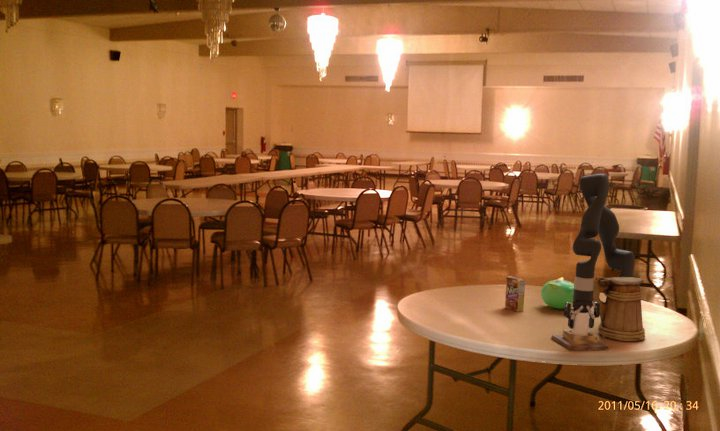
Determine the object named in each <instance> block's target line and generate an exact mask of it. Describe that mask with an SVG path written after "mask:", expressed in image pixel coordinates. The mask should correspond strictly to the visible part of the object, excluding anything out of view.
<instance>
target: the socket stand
mask: <svg viewBox="0 0 720 431" xmlns="http://www.w3.org/2000/svg"><path fill="white" fill-rule="evenodd" d="M551 339H552V340H553V341H555V342H557V343H558V344H559V345H560V346H562V347H565V348H566V349H567V350H568V351H572V350H575V351H596V350H595V349H608V350H609V345H607V344H606V343H604V342H603V341H600V340H599V336H598V335H596V334H594V333H592V332H591V331H589V330H588V336H575V335H573V334H572V333H571V329H563V330H562V334H552V335H551Z"/></svg>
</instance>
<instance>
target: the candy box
mask: <svg viewBox="0 0 720 431" xmlns="http://www.w3.org/2000/svg"><path fill="white" fill-rule="evenodd" d="M525 290H526V279H522V278H519V277H518V276H517V277H516V276H514V275H511V276H510V275H508V276H506V282H505V300H504V308H505V309H508V310H511V311H514V312H524V310H525V309H524V305H525V295H526V294H525Z"/></svg>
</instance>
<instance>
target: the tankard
mask: <svg viewBox="0 0 720 431" xmlns="http://www.w3.org/2000/svg"><path fill="white" fill-rule="evenodd" d="M612 277H613V278H612ZM612 277H604V276H596V277H595V278H594V292H593V300H592V303H594V302H598V303H600V316H599V318H600V323H599V326H598V328H597V332H598V333H599V334H600V335H601V337H602V338H603V337H604V338H606V339H609V340H613V341H619V342H638V341H642V340H644V339H646V333H645V331H646V330H645V327H644V325H643V313H642V312H643V310H642V309H643V308H642V299H643V290H641V284H643V283H644V282H645V281H644V279H643V278H639V277H618V276H612ZM602 291H604V293H603V294H604V296H605V297H606V299H605V301H602V300H601V299H600V293H602Z"/></svg>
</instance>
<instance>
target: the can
mask: <svg viewBox="0 0 720 431" xmlns="http://www.w3.org/2000/svg"><path fill="white" fill-rule="evenodd" d="M574 312H575V311H574ZM589 318H590V317H589V313H588V312H585V313H582V312H578V314H577V315H576V316H575V317H574V318H573V320H574V322H573V329H571V328H570V330H571V333H572V334H573V335H575V336H588V331H589Z"/></svg>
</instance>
